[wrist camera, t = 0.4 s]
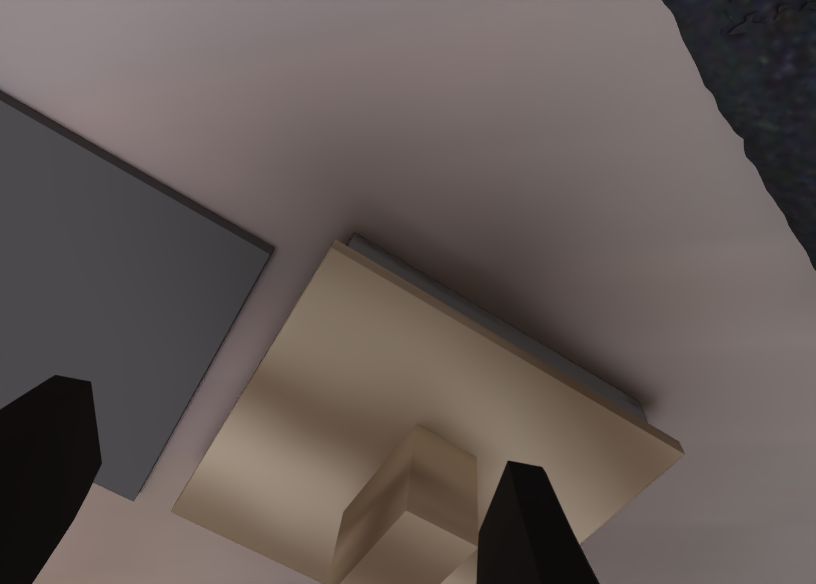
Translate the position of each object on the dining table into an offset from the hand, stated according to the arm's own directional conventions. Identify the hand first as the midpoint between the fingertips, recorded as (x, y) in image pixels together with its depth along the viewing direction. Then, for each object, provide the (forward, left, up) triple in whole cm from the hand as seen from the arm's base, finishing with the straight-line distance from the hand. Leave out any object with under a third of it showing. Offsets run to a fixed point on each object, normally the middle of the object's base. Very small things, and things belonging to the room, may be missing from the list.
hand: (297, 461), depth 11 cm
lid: (-6, -5, -8) cm, 12 cm away
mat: (-9, +10, -10) cm, 17 cm away
